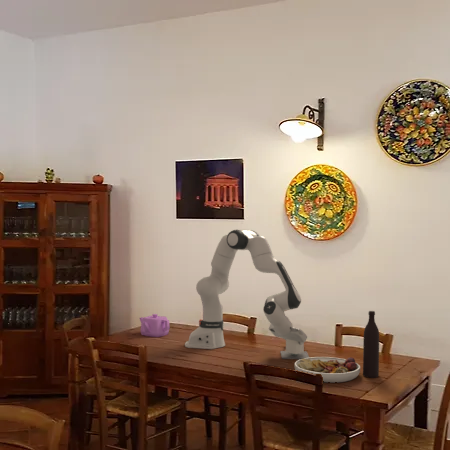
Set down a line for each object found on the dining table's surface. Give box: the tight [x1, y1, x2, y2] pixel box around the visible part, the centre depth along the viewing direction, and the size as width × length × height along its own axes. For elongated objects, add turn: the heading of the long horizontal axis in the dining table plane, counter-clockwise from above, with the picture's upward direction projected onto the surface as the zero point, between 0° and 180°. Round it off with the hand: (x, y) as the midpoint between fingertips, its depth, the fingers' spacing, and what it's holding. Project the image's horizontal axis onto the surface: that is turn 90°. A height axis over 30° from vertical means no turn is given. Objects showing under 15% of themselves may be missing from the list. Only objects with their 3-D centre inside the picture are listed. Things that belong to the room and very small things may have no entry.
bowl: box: [294, 356, 361, 384], centre depth 281 cm, size 30×30×8 cm
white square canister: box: [285, 339, 305, 354], centre depth 316 cm, size 7×7×11 cm
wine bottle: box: [362, 310, 380, 379], centre depth 279 cm, size 7×7×30 cm
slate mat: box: [280, 350, 310, 360], centre depth 316 cm, size 14×14×3 cm
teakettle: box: [139, 313, 170, 338], centre depth 367 cm, size 17×17×12 cm
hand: (295, 342), depth 317 cm, fingers closed on white square canister, 6 cm apart
